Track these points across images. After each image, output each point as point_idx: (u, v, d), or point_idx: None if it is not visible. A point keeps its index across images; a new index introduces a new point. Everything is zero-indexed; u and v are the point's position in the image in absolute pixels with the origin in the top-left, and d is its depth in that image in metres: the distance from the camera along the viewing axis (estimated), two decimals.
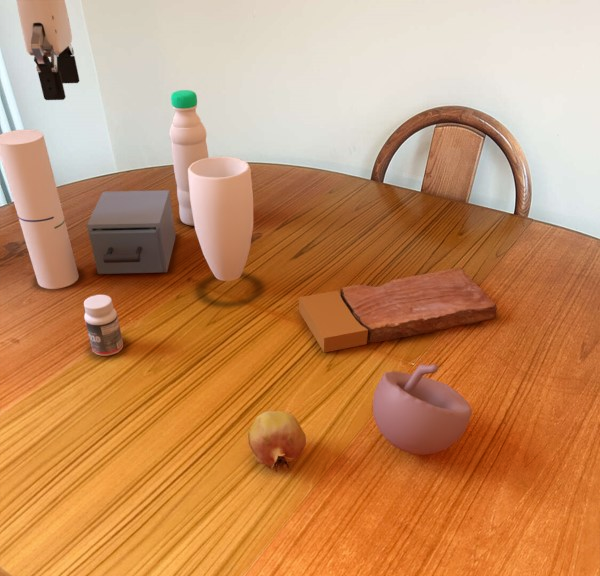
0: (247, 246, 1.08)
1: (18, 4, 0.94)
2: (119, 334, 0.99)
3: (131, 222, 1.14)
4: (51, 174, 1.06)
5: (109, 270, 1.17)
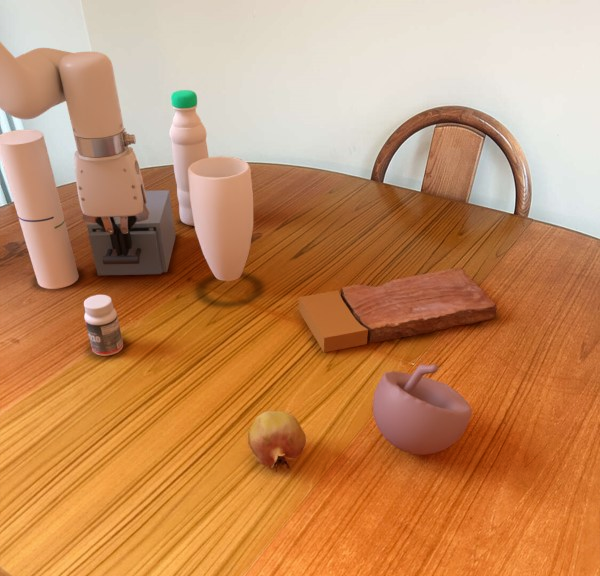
0: (247, 246, 1.08)
1: None
2: (119, 334, 0.99)
3: None
4: (51, 174, 1.06)
5: (109, 272, 1.17)
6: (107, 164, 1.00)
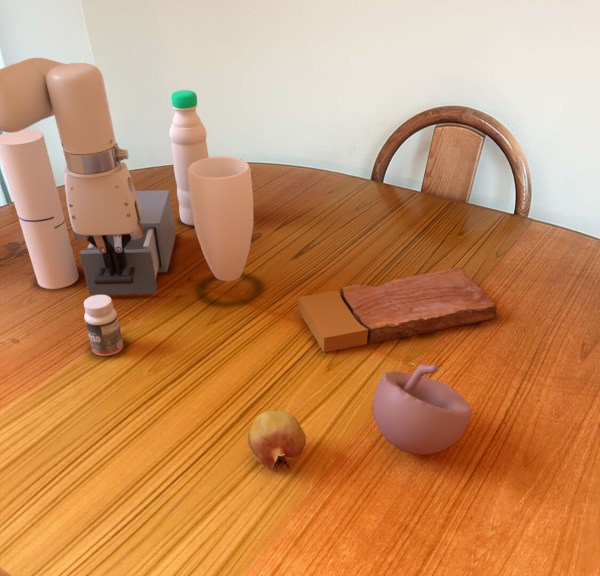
0: (247, 246, 1.08)
1: None
2: (119, 334, 0.99)
3: None
4: (51, 174, 1.06)
5: (101, 291, 1.12)
6: (98, 181, 0.95)
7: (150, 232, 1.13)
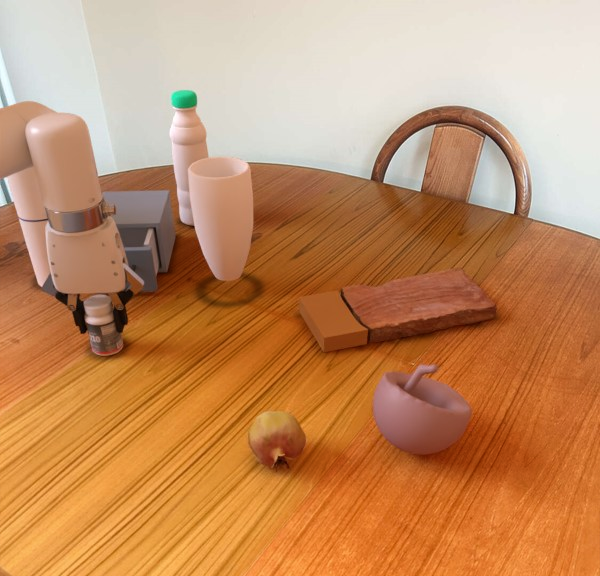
0: (247, 246, 1.08)
1: None
2: (119, 334, 0.99)
3: (131, 222, 1.14)
4: None
5: None
6: (83, 238, 0.87)
7: (151, 230, 1.14)
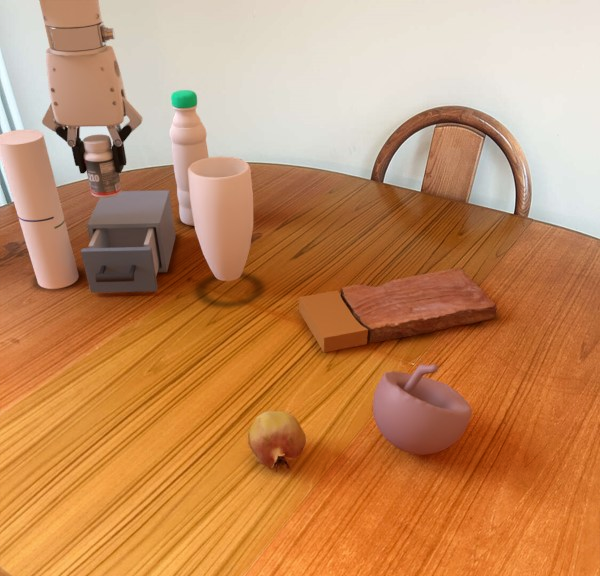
0: (247, 246, 1.08)
1: (54, 68, 0.94)
2: (117, 176, 1.02)
3: (131, 222, 1.14)
4: (51, 174, 1.06)
5: (102, 289, 1.12)
6: (82, 61, 0.89)
7: (151, 230, 1.14)
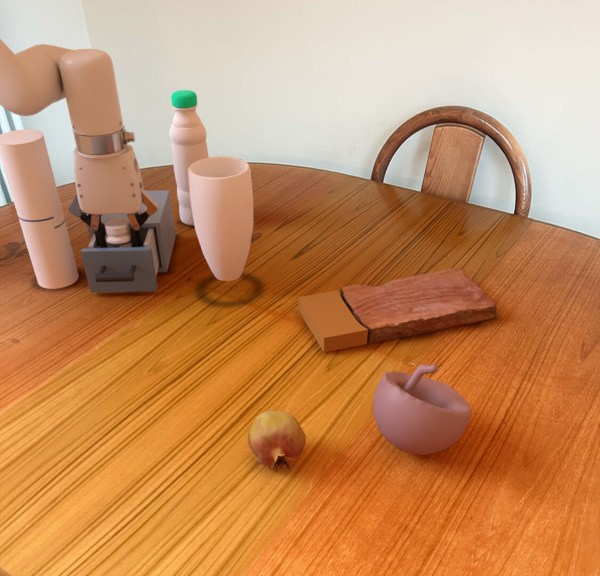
0: (247, 246, 1.08)
1: None
2: None
3: None
4: (51, 174, 1.06)
5: (102, 289, 1.12)
6: (106, 162, 1.00)
7: (151, 230, 1.14)
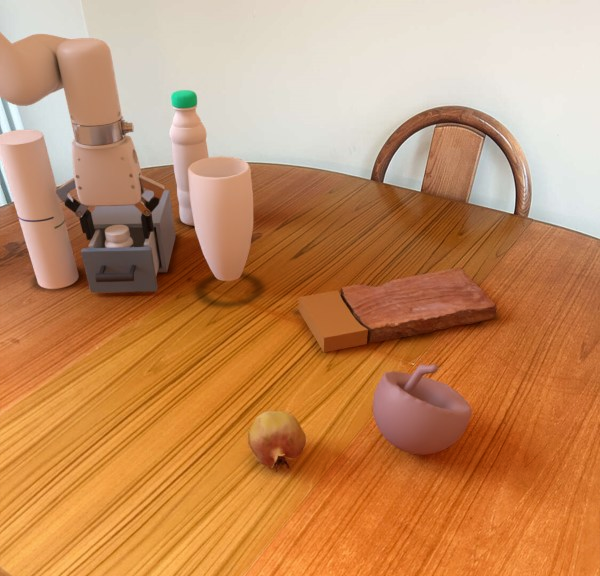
0: (247, 246, 1.08)
1: None
2: None
3: (131, 222, 1.14)
4: (51, 174, 1.06)
5: (102, 289, 1.12)
6: (105, 152, 0.99)
7: None
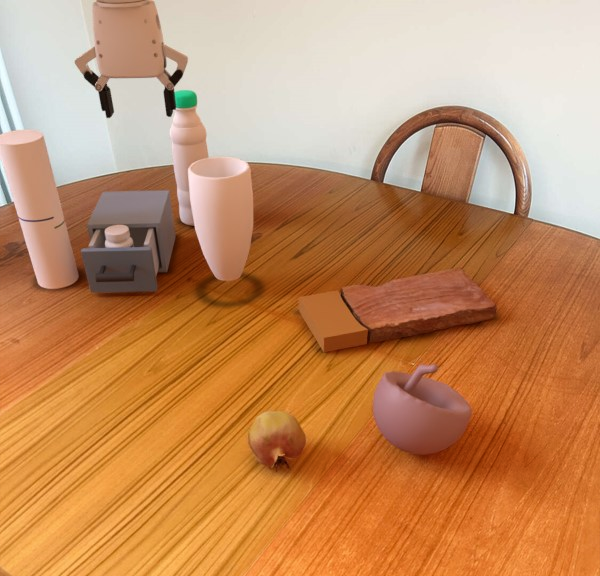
0: (247, 246, 1.08)
1: None
2: None
3: (131, 222, 1.14)
4: (51, 174, 1.06)
5: (102, 289, 1.12)
6: (127, 13, 0.95)
7: (151, 230, 1.14)
